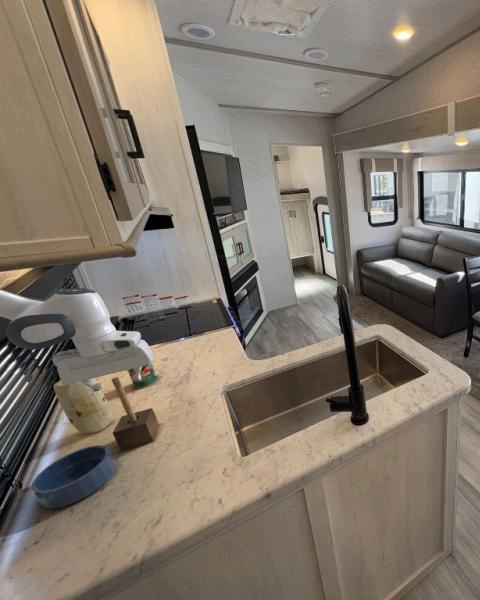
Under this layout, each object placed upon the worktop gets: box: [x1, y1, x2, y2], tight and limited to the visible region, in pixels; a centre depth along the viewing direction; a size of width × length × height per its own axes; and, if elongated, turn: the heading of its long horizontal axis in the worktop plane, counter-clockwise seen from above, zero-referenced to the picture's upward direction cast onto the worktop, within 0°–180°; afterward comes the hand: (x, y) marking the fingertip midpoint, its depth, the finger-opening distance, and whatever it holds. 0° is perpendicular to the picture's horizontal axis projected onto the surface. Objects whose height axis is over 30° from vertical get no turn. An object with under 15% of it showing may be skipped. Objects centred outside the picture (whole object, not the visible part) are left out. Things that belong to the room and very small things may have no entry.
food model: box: [53, 378, 115, 434], centre depth 99 cm, size 10×7×20 cm
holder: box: [112, 407, 160, 452], centre depth 96 cm, size 8×8×7 cm
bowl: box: [30, 444, 117, 510], centre depth 81 cm, size 14×14×6 cm
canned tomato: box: [127, 361, 159, 389], centre depth 125 cm, size 8×8×11 cm
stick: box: [111, 376, 137, 422], centre depth 93 cm, size 2×2×22 cm
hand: (118, 385), depth 90 cm, fingers open, 8 cm apart
